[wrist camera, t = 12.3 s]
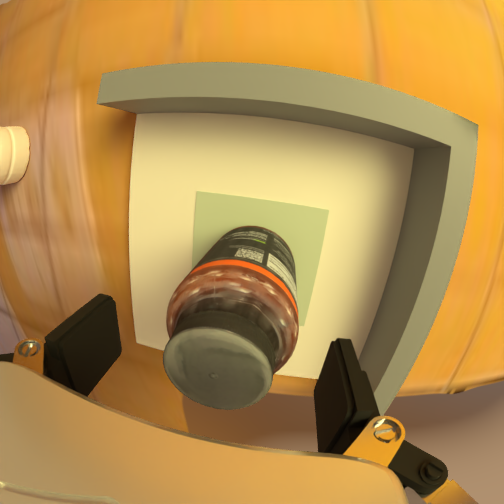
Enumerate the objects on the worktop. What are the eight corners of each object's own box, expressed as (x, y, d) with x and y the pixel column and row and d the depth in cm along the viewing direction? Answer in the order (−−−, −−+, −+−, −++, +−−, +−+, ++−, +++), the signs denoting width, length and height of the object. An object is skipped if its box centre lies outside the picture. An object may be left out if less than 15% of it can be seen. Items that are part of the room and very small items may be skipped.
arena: (366, 375, 23) (378, 421, 17) (140, 337, 24) (111, 375, 19) (432, 131, 16) (478, 124, 10) (147, 91, 17) (102, 73, 12)
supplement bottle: (228, 309, 21) (178, 426, 10) (200, 236, 19) (108, 317, 9) (305, 291, 20) (314, 417, 9) (282, 212, 18) (271, 281, 7)
